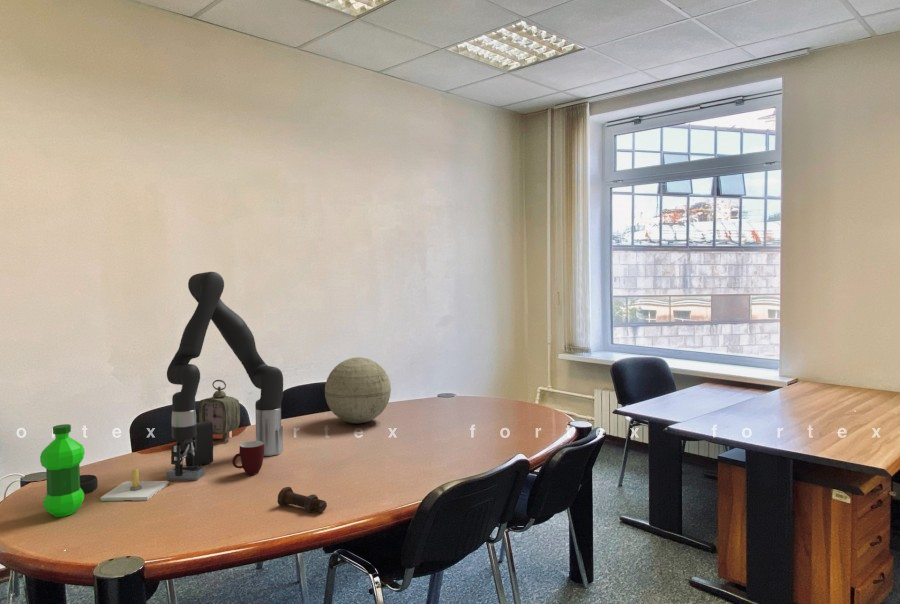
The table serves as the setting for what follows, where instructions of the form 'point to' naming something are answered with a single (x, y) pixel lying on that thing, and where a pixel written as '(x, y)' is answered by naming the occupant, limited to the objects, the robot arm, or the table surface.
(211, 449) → the dark grey upright slab
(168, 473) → the steel link
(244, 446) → the mug
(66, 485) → the plastic bottle
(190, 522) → the table surface
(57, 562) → the table surface
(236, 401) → the tabletop clock
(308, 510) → the bolt
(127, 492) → the keeper post
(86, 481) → the smart speaker
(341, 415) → the concrete ball
